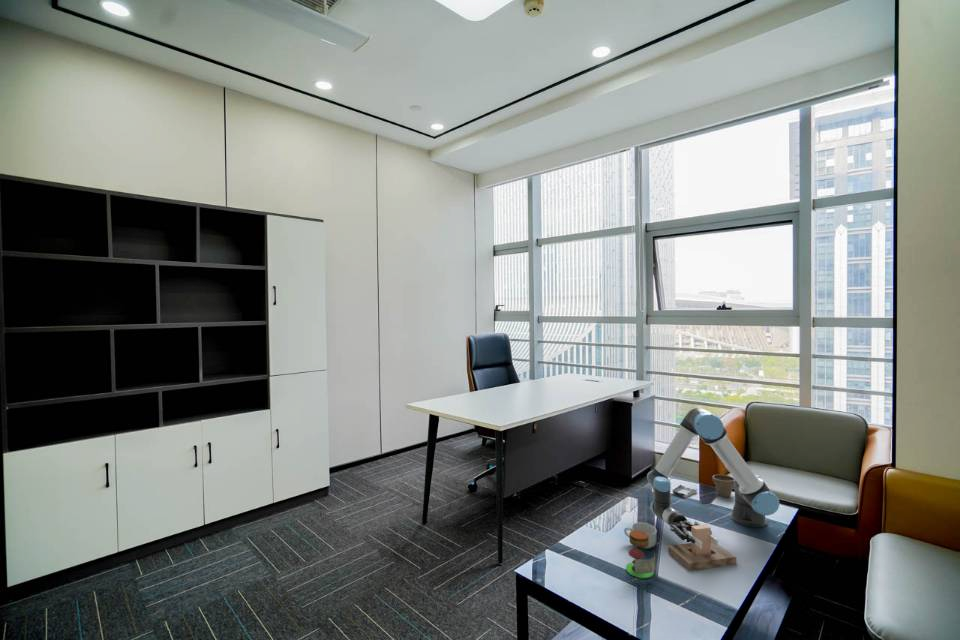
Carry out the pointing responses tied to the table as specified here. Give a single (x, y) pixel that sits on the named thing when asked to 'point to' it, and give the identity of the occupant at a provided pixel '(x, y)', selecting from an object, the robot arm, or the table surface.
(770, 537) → the table surface
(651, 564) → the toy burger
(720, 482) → the flower pot
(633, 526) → the teacup
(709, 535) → the salmon rectangular block
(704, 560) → the slotted rack
